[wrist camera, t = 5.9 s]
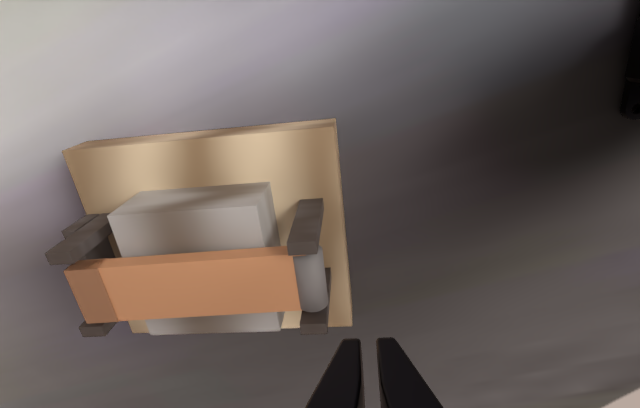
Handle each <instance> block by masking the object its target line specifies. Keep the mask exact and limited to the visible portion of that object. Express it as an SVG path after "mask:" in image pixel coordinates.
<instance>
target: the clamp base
mask: <svg viewBox="0 0 640 408" xmlns="http://www.w3.org/2000/svg"><path fill="white" fill-rule="evenodd" d="M62 153H63V155H64V158H65V160H66V163H67V166H68V168H69V171H70V173H71V176H72V178H73V181H74V184H75V186H76V189H77V191H78V194H79V197H80V199H81V202H82V204H83V207H84V209H85V212H86V216H84V217H83V218H81V219H80V220H78V221H77V222H75V223H74V224H72V225H71V226H69V227H68V228H66V229H65V230H63V231H62V233H63V235H64V238H65V240H63V241H62V242H60V243H59V244H58V245H56V246H55V247H53V248H52V249H50V250H49V251H48V252H46V253H45V255H46V257H47V260H48V262H49V264H50V265H59V264H75V263H76V262H77V261H78V260H90V259H104V258H108V259H111V258H125V257H139V256H152V255H166V254H180V253H194V252H207V251H221V250H235V249H249V248H263V247H276V246H287V250H288V256H293V255H312V254H317V253H318V246H319V245H320V246H321V247H322V250H323V258H324V267H325V275H326V284H327V292H328V301H329V302H328V305H327V306H326V307H325V308H324V309H323V310H321V311H318V312H306V311H303V310H301V311H284V312H267V313H250V314H233V315H215V316H198V317H181V318H164V319H147V320H130V321H128V323H129V325H130V328H131V330H132V333H150V335H170V334H202V333H234V332H266V331H280V330H281V328H300V330H301V335H309V334H327V332H328V327H341V326H352V298H351V287H350V275H349V264H348V253H347V241H346V230H345V219H344V207H343V196H342V185H341V174H340V162H339V151H338V140H337V128H336V118H333V119H322V120H312V121H301V122H290V123H279V124H268V125H257V126H247V127H236V128H225V129H214V130H203V131H193V132H182V133H171V134H160V135H149V136H138V137H128V138H117V139H106V140H95V141H86V142H84V143H81V144H79V145H76V146H73V147H71V148H68V149H66V150H63V151H62ZM116 323H117V322H108V323H91V324H87V323H86V321H84V322H83V323H82V324H81V325H80V326H79V329H80V332H81V334H82V336H83V337H97V336H106V335H107V334H108V333H109V331H110V330H111V329H112V328H113V326H114V325H115V324H116Z"/></svg>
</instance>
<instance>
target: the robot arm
mask: <svg viewBox="0 0 640 408" xmlns="http://www.w3.org/2000/svg"><path fill="white" fill-rule="evenodd" d="M625 76H626V83H625V88H624V93H623V97H622V102H621V107H620V113H621V115H622V116H624V117H625V118H629V119H640V16H639V18H638V19H637V21H636V26H635V30H634V35H633V40H632V45H631V50H630V55H629V60H628V64H627V69H626V74H625ZM635 104H637V108H636V110H635V111H634V112H631V109H632V107H633V106H634V105H635ZM376 346H377V362H378V377H379V389H380V402H381V408H443V406H442V405H441V404H440V402H439V401H438V399H437V398H436V396H435V395H434V394H433V392H432V391H431V389H430V388H429V386H428V385H427V384H426V382H425V381H424V379H423V378H422V376H421V375H420V374H419V372H418V371H417V369H416V368H415V367H414V365H413V364H412V362H411V361H410V359H409V358H408V357H407V355H406V354H405V352H404V351H403V349H402V348H401V347H400V345H399V344H398V342H397V341H396V340H395V339H394V338H392V337H390V338H378V339H377V340H376ZM305 408H365V398H364V379H363V363H362V351H361V341H360V339H357V338H355V339H343V340H342V341H341V343H340V345H339V347H338V348H337V350H336V352H335V354H334V356H333V358H332V359H331V361H330V363H329V365H328V367H327V369H326V370H325V372H324V374H323V376H322V378H321V380H320V381H319V383H318V385H317V387H316V389H315V390H314V392H313V394H312V396H311V398H310V400H309V401H308V403H307V405H306V407H305Z"/></svg>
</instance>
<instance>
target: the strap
mask: <svg viewBox="0 0 640 408" xmlns="http://www.w3.org/2000/svg"><path fill="white" fill-rule="evenodd" d="M64 274H65V276H66V278H67V280H68V283H69V285H70V287H71V289H72V292H73V294H74V296H75V298H76V301H77V303H78V305H79V307H80V310H81V312H82V314H83V316H84V319H85V321H86V323H87V324H91V323H108V322H119V321H130V320H147V319H164V318H181V317H198V316H215V315H233V314H250V313H267V312H284V311H301V310H303V311H306V312H318V311H321V310H323V309H324V308H325V307H326V306H327V305H328V302H329V301H328V292H327V284H326V275H325V267H324V258H323V250H322V247H321V246H320V245H319V246H318V253H317V254H312V255H293V256H288V250H287V246H276V247H263V248H249V249H235V250H221V251H207V252H194V253H180V254H166V255H152V256H139V257H125V258H111V259H108V258H104V259H90V260H78V261H77V262H76V263H75V264H71V265H70V266H69V267H68V268H67V269H66V270H64Z"/></svg>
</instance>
